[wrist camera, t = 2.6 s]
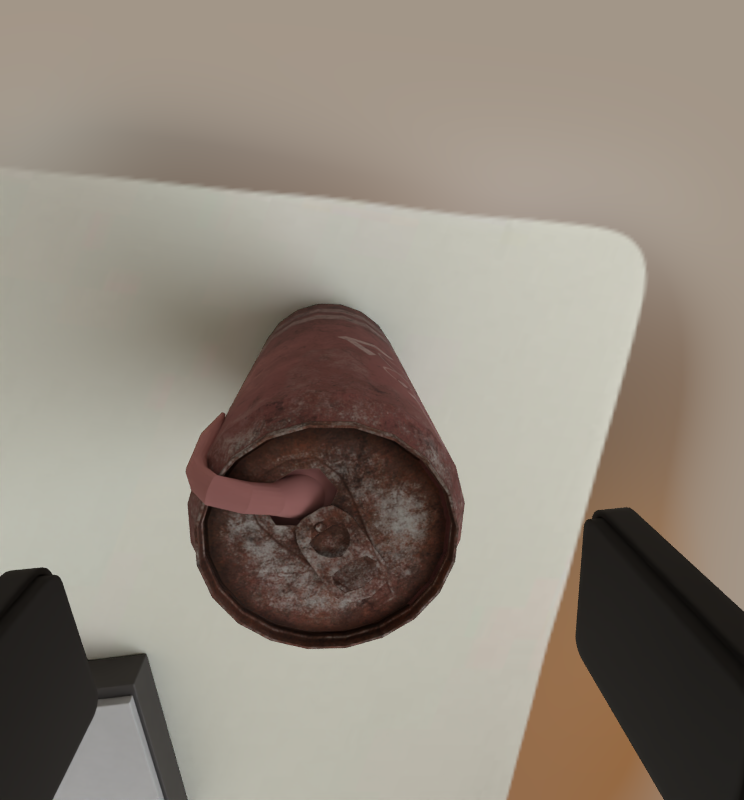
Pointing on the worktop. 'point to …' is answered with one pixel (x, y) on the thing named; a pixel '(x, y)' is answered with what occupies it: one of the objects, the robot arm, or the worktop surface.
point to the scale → (124, 740)
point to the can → (324, 489)
